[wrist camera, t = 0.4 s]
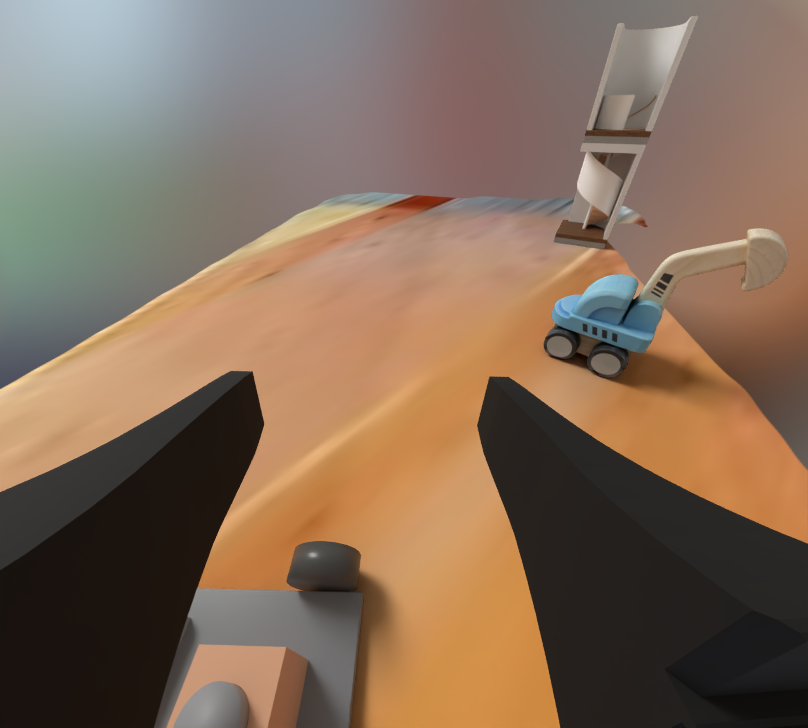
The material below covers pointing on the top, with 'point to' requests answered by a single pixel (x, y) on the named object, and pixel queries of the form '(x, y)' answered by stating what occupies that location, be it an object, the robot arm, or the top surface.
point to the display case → (621, 126)
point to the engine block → (241, 688)
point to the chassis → (287, 630)
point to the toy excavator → (651, 300)
